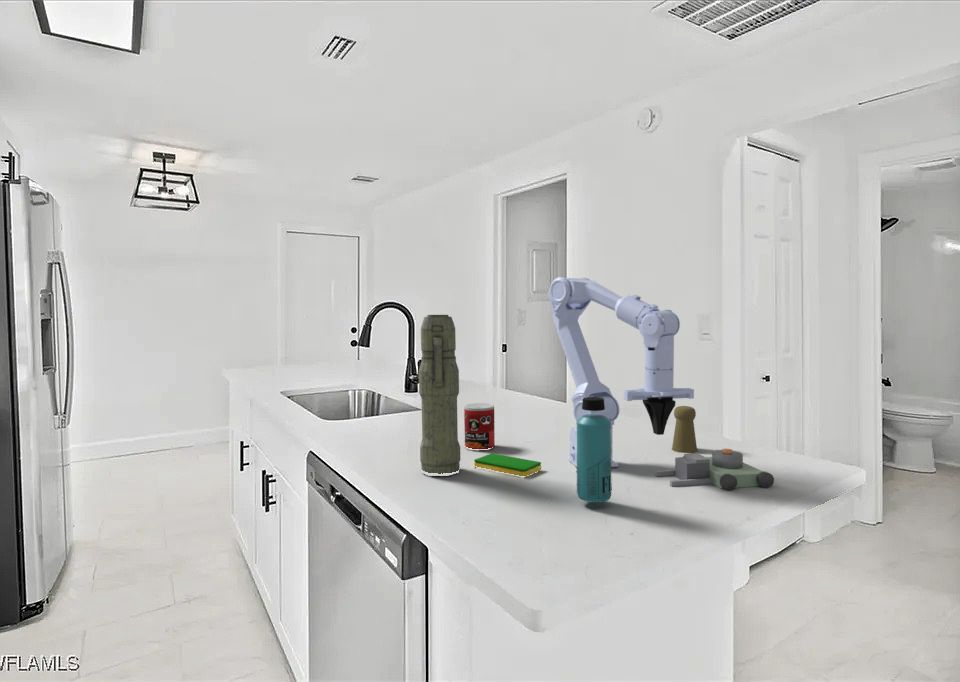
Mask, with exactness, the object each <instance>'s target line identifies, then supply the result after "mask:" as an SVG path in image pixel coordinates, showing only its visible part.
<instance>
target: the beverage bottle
mask: <svg viewBox="0 0 960 682" xmlns="http://www.w3.org/2000/svg"><path fill="white" fill-rule="evenodd" d="M582 409H583V410H587V411H601V410H605V405H604V399H603V398H600V397H586V398H583V402H582ZM610 426H611V422H610V421H609V420H608V419H607V418H606V417H605V416H603V415H597V414H587V415H583V416H582V417H580V418H579V419H578V420H577V421H576V427H577V454H576V455H577V467H576V476H575V477H576V494H577V497H578V498H579V499H580V500H581V501H584V502H589V503H603V502H608V501H610V499H611V497H612V491H613V490H612V489H613V485H612V468H613V467H612V466H611V452H612V453H613V450H612V451H611V448H612V449H613V446H612V447H611V443H612V444H613V441H612V442H611V430H610Z"/></svg>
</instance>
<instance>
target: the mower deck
mask: <svg viewBox="0 0 960 682" xmlns="http://www.w3.org/2000/svg"><path fill="white" fill-rule="evenodd" d="M711 454H712V455H711V456H705V457H706V458H708V459H710V473H709V478H701V479H686V480H681V479H673V480H669V486H670V487H684V486H685V487H686V486H700V485H701V486H702V485H715V486H716V487H718V488H720V489H725V490H727V491H733V490H735V489H736V488H746V487H747V488H748V487H749V486H751V487H763V488H766V489H767V488H771V487H772V486H773V485H774V483H775V477H774V475H773V474H771V472H767V471H765V470H762V469H758V468H757V467H755V466H752V465H750V464H747V463H745V462H744V454H743V453H742V452H739V451H734V449H731V448H723V449H718V450H713V451H712V452H711ZM682 457H684V455H683V456H682ZM654 476H655V477H669V476H670V477H671V476H675V469H664V470H654Z"/></svg>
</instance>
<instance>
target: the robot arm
mask: <svg viewBox="0 0 960 682" xmlns="http://www.w3.org/2000/svg"><path fill="white" fill-rule="evenodd" d="M548 289H549V290H548V292H547V297H548V300H549V303H550V306H551V308H552V309H551V310H552V321H553V324H554V327H555V330H556V332H557V336H558V338H559V342H560V343H561V347H562V350H563V352H564V353H563V354H564V355H565V359H566V361H567V365H568V367H569V370H570V373H571V376H572V378H573V381H574V385H575V387H576V390H575V392H574V393H573V394H572V397H571V402H572V404H573V416H574V419H575V421H576V422H577V420H578V419H579V418H580V417H582V416H583V415H587V414H597V415H603V416H605V417H606V418H607V419H608V420H609V421H610V422H611V426H610V430H611V442H612V443H611V447H612V448H611V451H612V452H611V466H612V467H611V468H619V467H620V465H619V463H617V462H616V461H614V460H613V427H614V426H615V420H617V419H618V417H619V415H620V404H619V402H618V400H617V399H616V398H615V397H614V395H613V394H612V392H611V390H610V388H609V387H608V386H607V385H605V384H604V383H602V382H601V381H600V379H599V376H598V373H597V370H596V368H595V365H594V363H593V359H592V357H591V354H590V350H589V348H588V346H587V345H588V344H587V343H586V340H585V337H584V335H583V331H582V330H581V326H580V323H579V318H580V316H581V315H582V314H583V313H584V312H585V310H586V309H587V308H588V306H589V305H590V303H591V302H594V303H596V304H599V305H601V306H603V307H605V308H607V309H610V310H613V311H614V312H615V316H616V318H617V319H618V320H620V321H621V322H624V323H625V324H626V325H629V326H631V327H633V328H634V329H637V330H638V331H639V332H640V334H641V336H642V337H643V345H644V388H638V389H637V388H636V389H627V390H626V389H625V390H623V400H624V401H626V402H632V401H642V403H643V406H644V407H645V409H646V412H647V414H648V416H649V418H650V419H649V420H650V422H651V427H652V432H653V434H654V435H657V436H661V435H662V436H663V435H664V434H665V430H666V425H667V423H668V420H669V419H670V415H671V413H672V412H673V411H674V409H675V408H676V400H674V399H690V400H691V399H694V398H695V389H693V388H689V387H685V388H684V387H674V375H675V374H674V368H675V367H674V364H675V363H674V361H675V360H674V359H675V358H674V356H675V336H676V335H677V333H678V332H679V331H680V327H681V323H680V319H679V317H678V315H677V314H676V313H675V312H673V311H672V310H671V309H663V310H660V309H659V305H656V304H655V303H654V304H650V303H648V302H646V301H643V300H641V298H642V297H641V296H639V295H638V294H632V295H631V294H630V295H629V294H628V295H626V296H620V295H619V294H617V293H615V292H613V290H611V289H608V288H607V287H605V286H603V285H601V284H600V283H598V282H597V281H596V280H592V279H590V278H588V277H580V278H578V277H576V278H575V277H570V278H569V277H563V276H558V277H556V278H554V280H552V282H551V284H550V286H549V288H548ZM586 397H600V398H603V399H604V405H605V410H601V411H587V410H583V409H582V402H583V398H586ZM569 431H570V432H569V458H568V462H571V463H572V464H573V466H575V468H577V455H576V454H577V426H574V427H571V428H570V430H569Z"/></svg>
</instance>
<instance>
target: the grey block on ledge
mask: <svg viewBox="0 0 960 682" xmlns="http://www.w3.org/2000/svg"><path fill="white" fill-rule="evenodd" d="M683 456H684V457H683ZM683 456H681V457H675V460H674V462H675V463H674V464H675V465H674V470H675V475H674V476H675V477H676V478H678V480H686V479H701V478H709V473H710V459H708V458H706V457H707V456H704V455H702V454H700V453H698V452H694V453H683Z"/></svg>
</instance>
